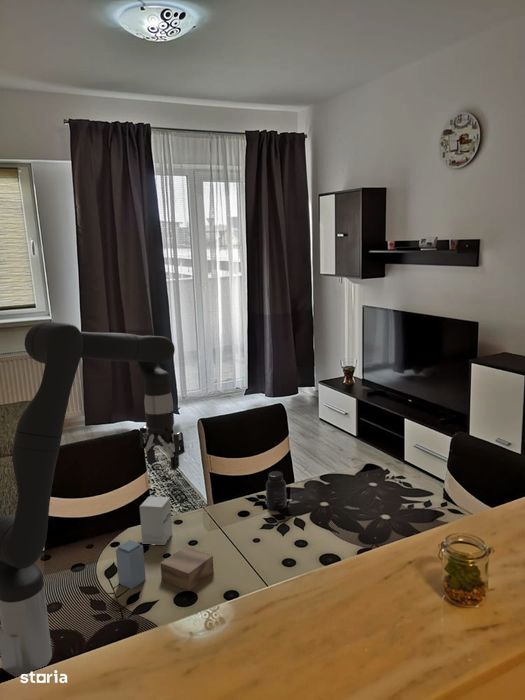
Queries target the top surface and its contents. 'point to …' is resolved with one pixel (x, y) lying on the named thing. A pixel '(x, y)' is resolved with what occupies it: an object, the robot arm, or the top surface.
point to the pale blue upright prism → (130, 564)
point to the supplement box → (156, 520)
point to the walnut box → (187, 567)
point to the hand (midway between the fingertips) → (163, 466)
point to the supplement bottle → (276, 491)
